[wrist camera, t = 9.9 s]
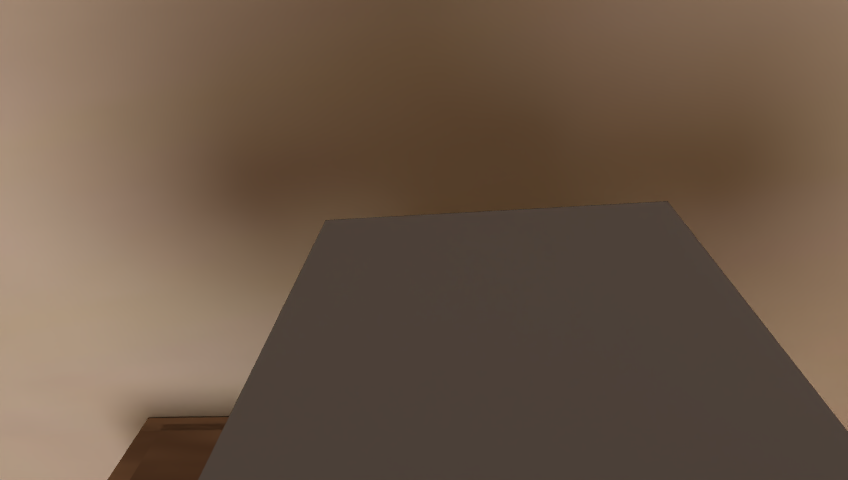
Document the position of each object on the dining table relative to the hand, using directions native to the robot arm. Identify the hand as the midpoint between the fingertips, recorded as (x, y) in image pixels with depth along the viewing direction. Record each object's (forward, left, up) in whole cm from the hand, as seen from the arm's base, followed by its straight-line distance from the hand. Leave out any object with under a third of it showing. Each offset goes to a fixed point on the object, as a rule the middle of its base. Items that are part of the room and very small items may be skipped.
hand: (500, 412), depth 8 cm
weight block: (0, 0, -1) cm, 1 cm away
